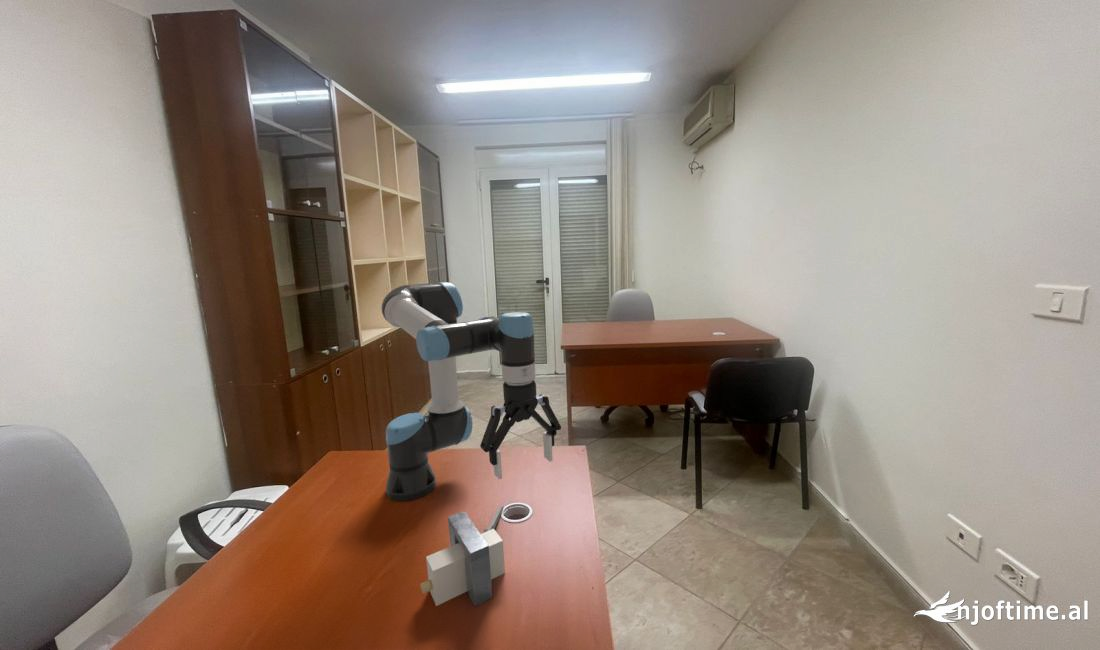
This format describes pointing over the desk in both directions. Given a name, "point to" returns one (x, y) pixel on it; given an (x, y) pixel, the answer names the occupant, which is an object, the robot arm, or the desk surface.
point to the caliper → (495, 519)
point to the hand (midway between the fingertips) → (524, 467)
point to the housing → (472, 556)
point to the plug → (458, 568)
